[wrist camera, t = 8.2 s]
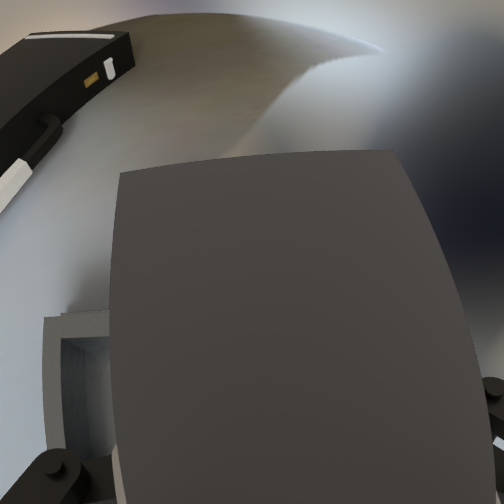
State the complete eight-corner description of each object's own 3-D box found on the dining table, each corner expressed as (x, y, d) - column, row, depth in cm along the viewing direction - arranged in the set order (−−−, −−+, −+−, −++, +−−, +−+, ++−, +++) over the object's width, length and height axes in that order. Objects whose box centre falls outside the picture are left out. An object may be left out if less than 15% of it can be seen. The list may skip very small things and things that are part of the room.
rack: (352, 507, 13) (376, 525, 10) (85, 524, 12) (56, 540, 8) (311, 290, 20) (325, 263, 16) (66, 317, 18) (36, 295, 15)
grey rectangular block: (316, 479, 12) (489, 589, 1) (229, 493, 11) (187, 671, 1) (292, 339, 15) (393, 150, 4) (207, 351, 15) (120, 172, 4)
